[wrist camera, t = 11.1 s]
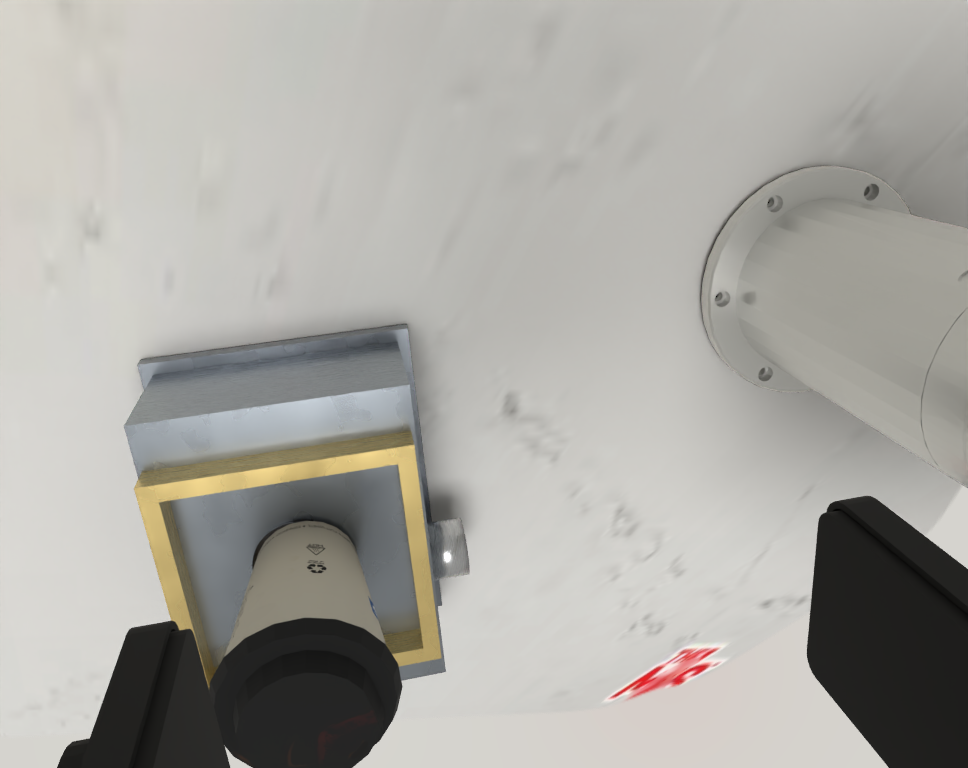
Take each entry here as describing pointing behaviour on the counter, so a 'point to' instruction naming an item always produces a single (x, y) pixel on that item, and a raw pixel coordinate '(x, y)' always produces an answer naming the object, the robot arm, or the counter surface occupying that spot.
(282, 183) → the counter surface
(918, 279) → the robot arm
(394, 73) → the counter surface
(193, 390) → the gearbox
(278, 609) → the coffee cup
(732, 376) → the counter surface
